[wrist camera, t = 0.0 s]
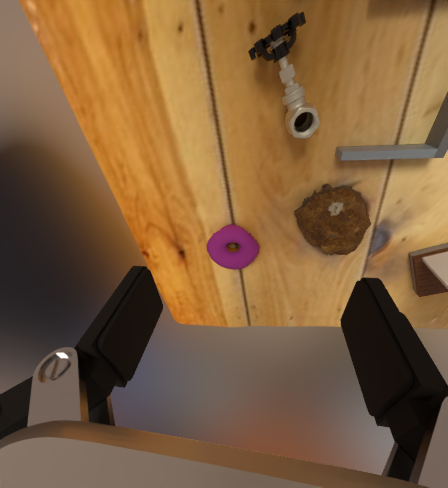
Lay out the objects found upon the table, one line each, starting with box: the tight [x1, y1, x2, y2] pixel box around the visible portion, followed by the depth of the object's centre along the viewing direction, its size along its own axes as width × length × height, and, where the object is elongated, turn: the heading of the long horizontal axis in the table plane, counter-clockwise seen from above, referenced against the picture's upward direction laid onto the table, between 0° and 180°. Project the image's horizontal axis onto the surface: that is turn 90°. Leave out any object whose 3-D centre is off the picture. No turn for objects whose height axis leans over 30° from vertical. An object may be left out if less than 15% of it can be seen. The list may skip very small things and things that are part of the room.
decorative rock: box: [294, 184, 371, 255], centre depth 40 cm, size 11×4×15 cm
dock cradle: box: [335, 93, 448, 161], centre depth 27 cm, size 18×13×3 cm
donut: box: [207, 224, 259, 269], centre depth 46 cm, size 10×10×5 cm
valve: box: [248, 12, 320, 138], centre depth 28 cm, size 7×7×12 cm
